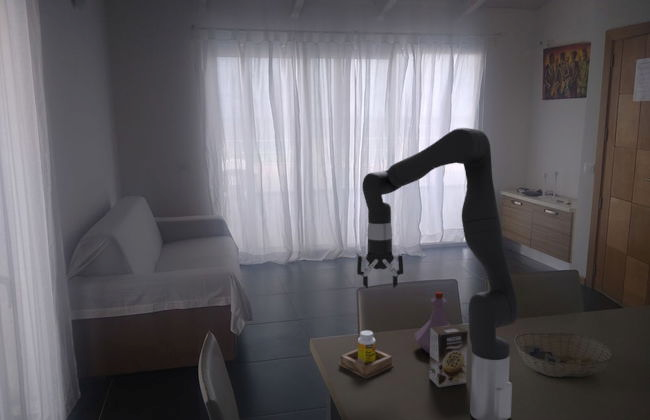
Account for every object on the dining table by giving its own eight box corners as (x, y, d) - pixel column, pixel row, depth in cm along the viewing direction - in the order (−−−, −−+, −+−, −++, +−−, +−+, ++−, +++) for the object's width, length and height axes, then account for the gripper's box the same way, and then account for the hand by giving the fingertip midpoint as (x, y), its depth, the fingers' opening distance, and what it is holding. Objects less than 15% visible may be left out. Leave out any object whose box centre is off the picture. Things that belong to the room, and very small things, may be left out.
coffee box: (438, 388, 147) (439, 335, 144) (428, 377, 153) (429, 326, 150) (467, 383, 149) (468, 331, 146) (455, 373, 155) (457, 323, 152)
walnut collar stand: (393, 366, 160) (393, 356, 160) (366, 378, 153) (366, 368, 152) (366, 354, 170) (366, 344, 169) (339, 365, 162) (339, 355, 161)
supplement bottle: (365, 369, 157) (365, 337, 156) (354, 362, 162) (354, 332, 160) (379, 364, 160) (379, 333, 159) (368, 357, 165) (368, 327, 163)
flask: (473, 355, 167) (475, 296, 164) (430, 364, 161) (431, 304, 158) (444, 336, 182) (445, 282, 179) (404, 344, 176) (404, 288, 173)
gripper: (401, 233, 161) (401, 283, 163) (356, 234, 161) (357, 283, 164) (404, 238, 153) (404, 290, 156) (356, 239, 154) (357, 291, 156)
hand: (380, 287), depth 160 cm, fingers open, 8 cm apart
